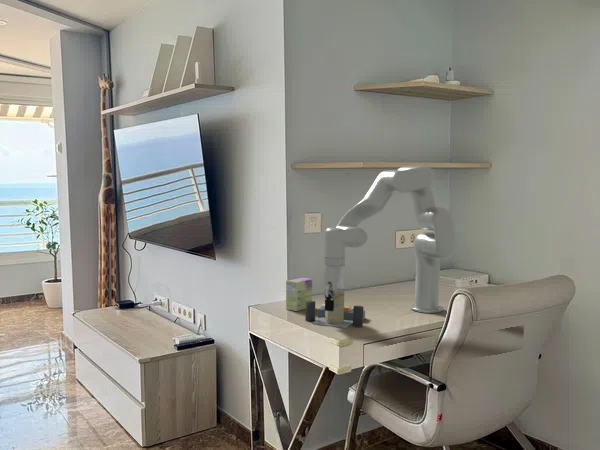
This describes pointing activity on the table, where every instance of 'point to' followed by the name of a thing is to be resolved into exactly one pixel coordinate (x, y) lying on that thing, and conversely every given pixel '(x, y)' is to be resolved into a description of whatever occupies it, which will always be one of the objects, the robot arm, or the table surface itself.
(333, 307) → the robot arm
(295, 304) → the box
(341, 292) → the skincare box
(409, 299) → the table surface
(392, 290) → the table surface
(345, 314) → the grey button panel
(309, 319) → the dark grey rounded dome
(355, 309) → the dark grey capsule
